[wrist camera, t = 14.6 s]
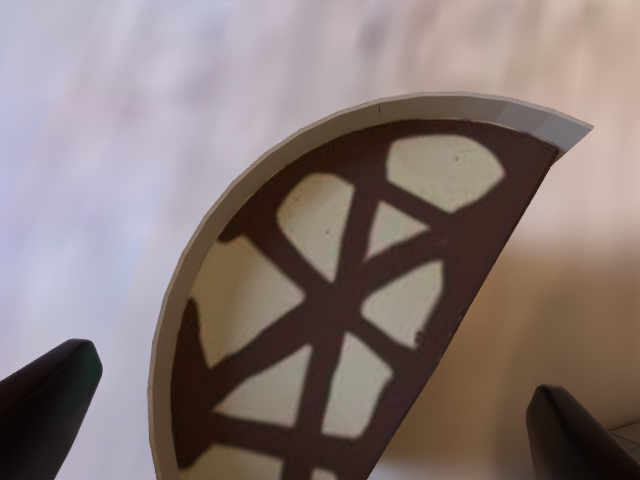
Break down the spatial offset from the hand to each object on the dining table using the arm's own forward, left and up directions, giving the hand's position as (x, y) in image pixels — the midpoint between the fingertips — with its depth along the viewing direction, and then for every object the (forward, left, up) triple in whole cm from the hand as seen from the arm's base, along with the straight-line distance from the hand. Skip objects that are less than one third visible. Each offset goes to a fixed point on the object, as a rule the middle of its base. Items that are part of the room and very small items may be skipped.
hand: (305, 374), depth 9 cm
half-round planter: (+1, +2, -9) cm, 10 cm away
